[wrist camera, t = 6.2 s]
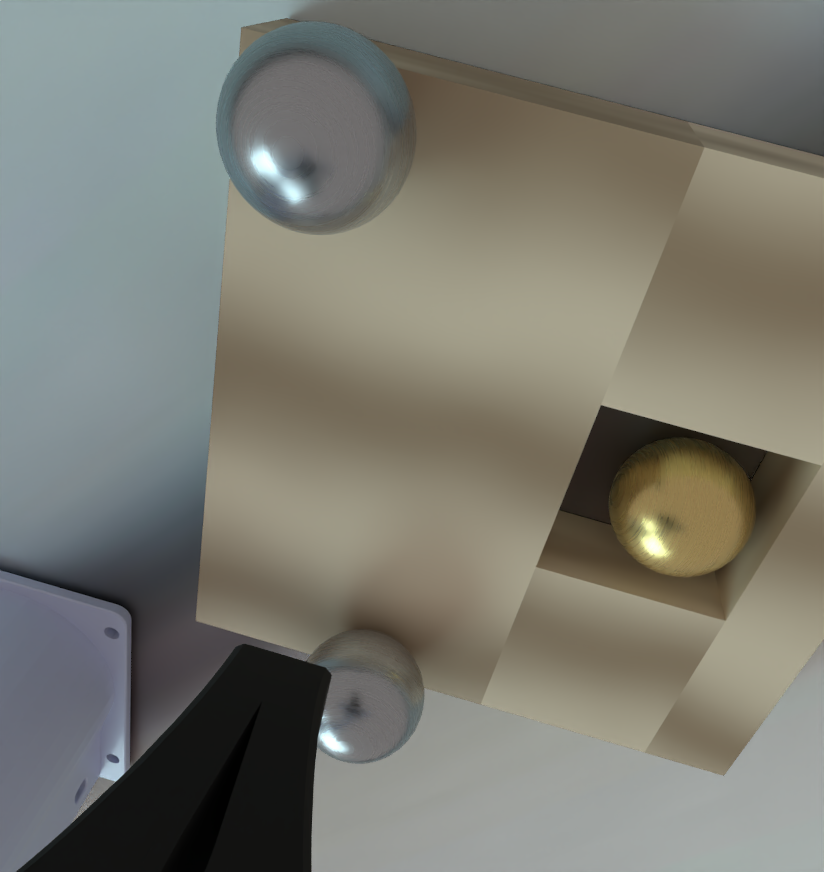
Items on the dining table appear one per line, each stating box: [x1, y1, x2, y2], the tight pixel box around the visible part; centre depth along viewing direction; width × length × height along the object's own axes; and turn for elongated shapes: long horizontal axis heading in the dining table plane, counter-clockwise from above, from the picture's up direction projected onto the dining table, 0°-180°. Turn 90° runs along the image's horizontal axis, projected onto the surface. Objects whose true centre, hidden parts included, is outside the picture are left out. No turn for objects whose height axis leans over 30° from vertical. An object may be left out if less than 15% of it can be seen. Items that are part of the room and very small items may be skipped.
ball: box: [609, 437, 756, 577], centre depth 18 cm, size 3×3×3 cm
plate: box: [196, 18, 824, 776], centre depth 18 cm, size 15×15×2 cm
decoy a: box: [306, 629, 424, 764], centre depth 20 cm, size 3×3×3 cm
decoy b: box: [216, 21, 417, 235], centre depth 13 cm, size 3×3×3 cm
